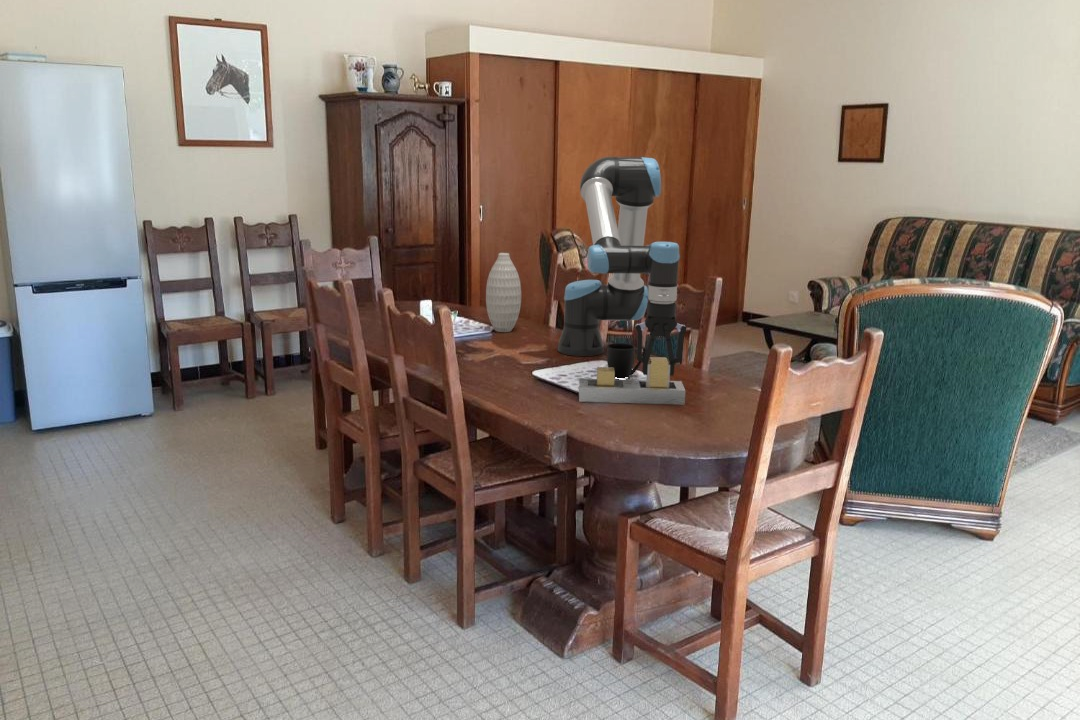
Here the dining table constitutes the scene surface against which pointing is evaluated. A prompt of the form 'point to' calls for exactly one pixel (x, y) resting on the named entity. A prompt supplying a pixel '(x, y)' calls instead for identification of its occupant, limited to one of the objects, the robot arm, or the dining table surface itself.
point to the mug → (622, 359)
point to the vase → (503, 294)
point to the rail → (631, 392)
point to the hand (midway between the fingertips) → (657, 386)
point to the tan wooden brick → (605, 376)
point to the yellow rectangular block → (658, 372)
